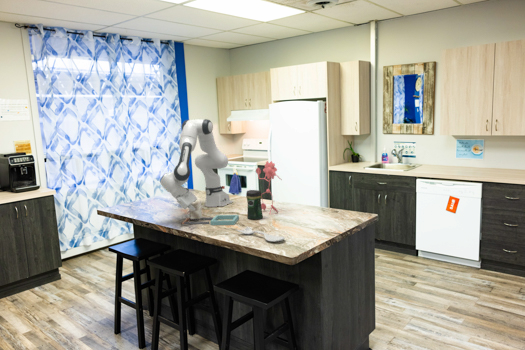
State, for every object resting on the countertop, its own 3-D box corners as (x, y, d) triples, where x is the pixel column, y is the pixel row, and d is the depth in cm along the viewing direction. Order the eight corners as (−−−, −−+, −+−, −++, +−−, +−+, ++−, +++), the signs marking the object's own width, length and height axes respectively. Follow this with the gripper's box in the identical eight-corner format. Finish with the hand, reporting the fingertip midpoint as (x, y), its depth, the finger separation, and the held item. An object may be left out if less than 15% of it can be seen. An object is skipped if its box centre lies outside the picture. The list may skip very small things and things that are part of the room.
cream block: (190, 218, 261) (189, 203, 259) (193, 216, 266) (191, 201, 264) (199, 218, 260) (198, 203, 258) (202, 216, 265) (200, 201, 263)
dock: (210, 225, 254) (210, 221, 254) (216, 218, 269) (216, 215, 268) (234, 224, 252) (233, 220, 252) (238, 218, 267) (238, 214, 266)
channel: (182, 224, 258) (181, 222, 258) (188, 219, 270) (187, 217, 270) (208, 224, 256) (208, 222, 256) (213, 219, 268) (213, 217, 267)
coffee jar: (264, 217, 266) (263, 189, 263) (257, 220, 260) (255, 191, 257) (253, 216, 272) (251, 188, 269) (245, 218, 265) (243, 190, 263)
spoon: (247, 231, 238) (247, 225, 238) (288, 241, 215) (288, 234, 215) (236, 234, 232) (235, 228, 232) (276, 245, 209) (276, 239, 209)
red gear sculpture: (277, 216, 267) (275, 163, 262) (251, 210, 286) (249, 161, 282) (293, 212, 277) (292, 161, 272) (268, 207, 296) (266, 159, 292)
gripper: (178, 193, 251) (194, 209, 251) (188, 187, 271) (204, 201, 271) (171, 201, 252) (188, 216, 252) (183, 194, 272) (198, 208, 272)
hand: (196, 208), depth 262 cm, fingers closed on cream block, 5 cm apart
